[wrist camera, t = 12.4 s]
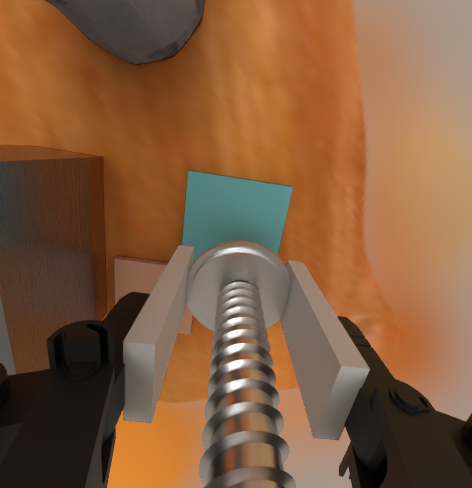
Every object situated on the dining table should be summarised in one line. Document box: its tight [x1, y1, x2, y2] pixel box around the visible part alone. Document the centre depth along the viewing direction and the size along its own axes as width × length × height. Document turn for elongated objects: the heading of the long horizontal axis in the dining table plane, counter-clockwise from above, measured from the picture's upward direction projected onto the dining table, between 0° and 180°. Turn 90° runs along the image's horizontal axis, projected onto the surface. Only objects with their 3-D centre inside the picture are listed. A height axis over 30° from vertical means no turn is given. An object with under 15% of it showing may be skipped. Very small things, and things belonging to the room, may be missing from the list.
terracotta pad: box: [114, 256, 193, 335], centre depth 23 cm, size 7×7×1 cm
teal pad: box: [182, 170, 293, 263], centre depth 21 cm, size 8×8×1 cm
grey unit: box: [0, 145, 107, 375], centre depth 16 cm, size 5×14×10 cm, turn 171°
